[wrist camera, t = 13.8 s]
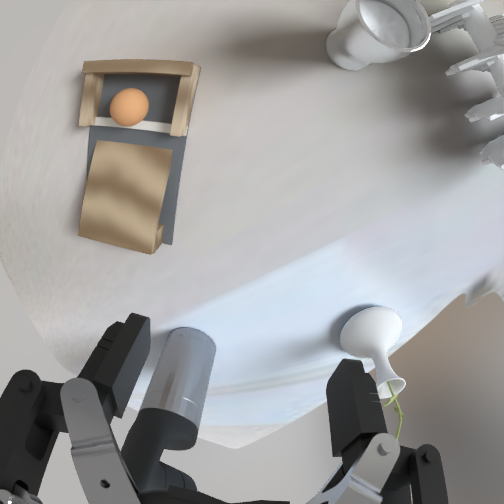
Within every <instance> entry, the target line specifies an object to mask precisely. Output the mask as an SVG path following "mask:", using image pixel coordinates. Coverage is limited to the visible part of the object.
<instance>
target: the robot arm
mask: <svg viewBox="0 0 504 504" xmlns="http://www.w3.org/2000/svg"><path fill="white" fill-rule="evenodd" d="M149 350H150V318H149V317H145V316H142V315H139V314H135V313H131V314H130V315H129V317H128V318H127V320H126V322H125V323H121V322H118V321H117V322H115V323H114V324H113V325H111V326H110V327H108V328H107V330H106V331H105V333H104V334H103V336H102V339H100V341H99V342H98V344H97V347H95V349H94V351H93V352H92V354H91V356H90V357H89V359H88V361H87V362H86V364H85V366H84V368H83V369H82V371H81V373H80V374H79V376H78V377H77V378H73V379H70V380H68V381H67V382H66V383H54V382H47V381H41V380H40V378H39V376H38V375H37V374H36V373H35V372H33V371H31V370H21V371H18V372H16V373H15V374H14V375H13V376H12V378H11V380H10V381H9V383H8V385H7V387H6V389H5V390H4V392H3V394H2V396H1V398H0V504H43V503H42V502H41V500H40V499H39V498H38V497H37V495H38V492H39V488H40V485H41V482H42V478H43V476H44V472H45V470H46V467H47V464H48V461H49V458H50V455H51V452H52V450H53V447H54V444H55V442H56V439H57V437H58V434H59V432H66V433H69V436H70V439H71V443H72V448H71V455H72V459H73V462H74V465H75V468H76V471H77V474H78V477H79V479H80V482H81V485H82V488H83V490H84V493H85V495H86V498H87V500H88V503H89V504H290V502H287V501H267V500H266V501H265V500H259V501H251V502H242V503H226V502H223V501H221V500H219V499H216V498H213V497H211V496H208V495H206V494H204V493H201V492H199V491H197V487H196V485H195V482H194V480H193V479H192V478H191V477H190V476H189V475H187V474H185V473H184V472H181V471H179V470H177V469H175V468H173V467H171V466H169V465H167V464H165V463H163V462H161V461H159V460H160V457H161V455H162V452H163V450H164V449H168V450H187V449H190V448H192V447H193V446H194V445H195V442H196V439H197V435H198V430H199V426H200V421H201V416H202V411H203V407H204V402H205V398H206V393H207V389H208V384H209V380H210V375H211V371H212V366H213V362H214V357H215V353H216V346H215V343H214V342H213V340H212V339H211V338H210V337H209V336H208V335H206V334H205V333H203V332H201V331H199V330H196V329H192V328H178V329H176V330H174V331H172V332H171V333H170V334H169V336H168V339H167V341H166V344H165V346H164V349H163V351H162V353H161V356H160V358H159V361H158V363H157V366H156V368H155V371H154V373H153V376H152V378H151V381H150V384H149V386H148V389H147V391H146V394H145V397H144V400H143V402H142V405H141V408H140V410H139V413H138V416H137V418H136V420H135V422H134V424H133V425H132V427H131V429H130V430H129V433H128V435H127V437H126V440H125V442H124V445H123V447H122V449H121V452H120V450H119V447H118V445H117V443H116V440H115V437H114V435H113V432H112V429H111V426H110V424H111V421H112V419H113V416H116V417H118V418H122V416H123V413H124V411H125V408H126V406H127V404H128V401H129V399H130V396H131V394H132V391H133V389H134V387H135V384H136V382H137V380H138V377H139V375H140V373H141V370H142V368H143V366H144V363H145V361H146V359H147V356H148V354H149ZM326 395H327V403H328V413H329V422H330V432H331V443H332V454H333V457H342V463H340V465H339V466H338V467H337V469H336V470H335V471H334V473H333V474H332V475H331V477H330V478H329V479H328V481H327V482H326V483H325V484H324V486H323V487H322V488H321V490H320V491H319V492H318V493H317V494H316V495H315V496H314V497H313V498H312V499H311V500H309V501H308V502H307V503H306V504H411V493H410V485H411V488H412V498H413V504H448V497H447V490H446V484H445V478H444V473H443V467H442V463H441V457H440V454H439V452H438V450H437V449H436V448H435V447H434V446H432V445H429V444H424V445H422V446H420V447H419V448H418V449H412V448H407V447H404V446H400V445H399V443H398V441H397V440H396V438H394V437H393V436H392V435H390V434H388V432H387V428H386V424H385V419H384V415H383V411H382V407H381V403H380V399H379V395H378V391H377V387H376V383H375V381H374V380H373V378H372V377H371V375H370V374H369V373H365V371H364V367H363V364H362V362H361V361H360V360H352V359H343V360H342V361H341V362H340V364H339V365H338V367H337V368H336V370H335V371H334V373H333V374H332V376H331V377H330V379H329V381H328V383H327V388H326Z"/></svg>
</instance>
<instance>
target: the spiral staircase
mask: <svg viewBox="0 0 504 504" xmlns="http://www.w3.org/2000/svg"><path fill="white" fill-rule="evenodd" d="M483 1H484V0H456V1H454V2H452V3H451V4H449V5H450V7H451V8H448V9H446V10H443V11H440V12H438V13H435V14H433V15H431V16H430V17H429V20H430V24H431V33H433V32H436V31H438V30H440V32H441V34H442V33H444V32H446V31H449V30H451V29H453V28H456V27H458V28H459V29H461V28H463V27H464V30H465V31H467V32H468V33H469V35H470V36H471V38H472V40H473V41H474V43H475V45H476V46H477V48H478V50H479V52H480V54H477V55H475V56H473V57H470V58H468V59H465V60H463V61H461V62H459V63H456V64H454V65H452V66H449V67H450V68H449V69H448V70H447V71H446V72H445V73H446V75H447V76H449V75H452V74H455V73H459V72H464V71H468V70H478V71H482V72H484V71H488V72H491V74H492V76H493V78H494V81H495V83H496V85H497V87H498V89H499V92H500V94H501V96H500V97H497V98H494V99H492V98H491V99H489V100H487V101H485V102H483V103H481V104H477V105H474V106H473V107H472V108H471V109H470V110H468V112H467V113H466V114H465V117H466V118H469V121H470V123H471V122H474V121H477V120H480V119H486V120H489V121H492V120H494V119H496V118H498V117H499V116H501V117H503V116H504V18H502V17H504V15H503V14H500V15H497V16H494V17H491V18H488V17H487V15H486V14H485V12H484V11H483V9H482V8H481V6H480V5H479V3H481V2H483ZM500 18H502V19H500ZM497 19H499V20H497ZM494 20H496V21H494ZM491 21H493V22H491ZM447 26H448V27H447ZM445 27H446V28H445ZM443 28H444V29H443ZM441 29H442V30H441ZM479 153H480V155H483V159H482V162H483V165H485V164H489V163H494V164H495V165H496V166H498V167H499V168H500V169H501V170H502V169H504V135H502V136H500V137H498V138H497V139H495V140H493V141H490V142H489V143H488V144H487V145H486V146H485V147H484V148H483V149H482V150H481V151H480V152H479Z"/></svg>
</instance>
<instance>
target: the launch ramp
mask: <svg viewBox="0 0 504 504" xmlns="http://www.w3.org/2000/svg"><path fill="white" fill-rule="evenodd" d="M172 153H173V150H169V149H163V148H157V147H150V146H143V145H135V144H127V143H119V142H110V141H101V140H97V142H96V146H95V150H94V154H93V158H92V162H91V166H90V171H89V175H88V180H87V185H86V190H85V195H84V200H83V206H82V212H81V218H80V225H79V233H78V236H81V237H85V238H88V239H92V240H96V241H99V242H103V243H107V244H111V245H115V246H118V247H122V248H126V249H130V250H134V251H138V252H142V253H146V254H150V255H151V254H154V253H155V252H156V250H157V249H158V248H159V246H160V245H161V244H162V238H163V227H164V224H160V223H159V218H160V213H161V208H162V203H163V199H164V194H165V190H166V185H167V181H168V177H169V173H170V166H171V159H172Z"/></svg>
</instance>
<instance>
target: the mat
mask: <svg viewBox="0 0 504 504" xmlns="http://www.w3.org/2000/svg"><path fill="white" fill-rule="evenodd" d="M200 70H201V68H200ZM199 74H200V72H199ZM198 78H199V76H198ZM180 80H181V77H175V76H162V75H143V74H105V75H104V81H103V86H102V92H101V99H100V105H99V113H98V117H96V119H95V125H90V135H89V147H88V164H87V180H88V175H89V171H90V166H91V162H92V158H93V154H94V150H95V146H96V142H97V140H101V141H110V142H119V143H127V144H135V145H143V146H150V147H157V148H163V149H169V150H173V153H172V159H171V166H170V173H169V177H168V181H167V185H166V190H165V194H164V199H163V203H162V208H161V213H160V218H159V223H160V224H164V227H163V238H162V243H165V244H169V245H172V240H173V230H174V221H175V213H176V205H177V197H178V189H179V182H180V175H181V169H182V162H183V156H184V150H185V144H186V138H187V132H188V127H189V125H188V126H187V128H186V134H185V135H183V136H180V137H178V136H171V135H170V132H171V126H172V120H173V115H174V109H175V104H176V99H177V94H178V89H179V84H180ZM197 83H198V81H197ZM196 87H197V85H196ZM127 88H135V89H139V90H141V91H142V92H143V93H144V94H145V95H146V96H147V98H148V101H149V109H148V112H147V115H146V116H145V118H144V119H143V120H142V121H141V122H139V123H138V124H136V125H133V126H121V125H119V124H117V123H116V122H115V121H114V120H113V119H112V117H111V114H110V104H111V101H112V99H113V98H114V97H115V95H116V94H117V93H119V92H120V91H122V90H124V89H127ZM195 92H196V90H195ZM194 97H195V95H194ZM193 101H194V99H193ZM192 106H193V104H192ZM191 111H192V109H191ZM190 116H191V114H190ZM189 122H190V119H189Z"/></svg>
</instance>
